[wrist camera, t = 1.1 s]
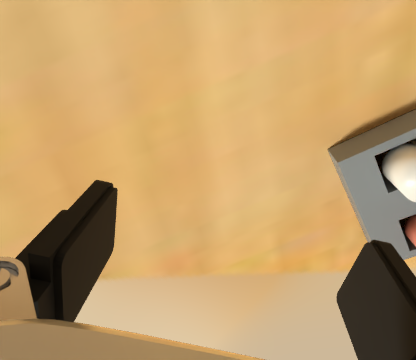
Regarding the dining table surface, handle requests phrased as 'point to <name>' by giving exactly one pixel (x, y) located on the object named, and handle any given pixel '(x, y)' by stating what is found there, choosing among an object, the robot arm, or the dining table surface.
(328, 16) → the dining table surface
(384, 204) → the panel
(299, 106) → the dining table surface
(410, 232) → the red plug
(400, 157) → the domed peg
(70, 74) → the dining table surface
